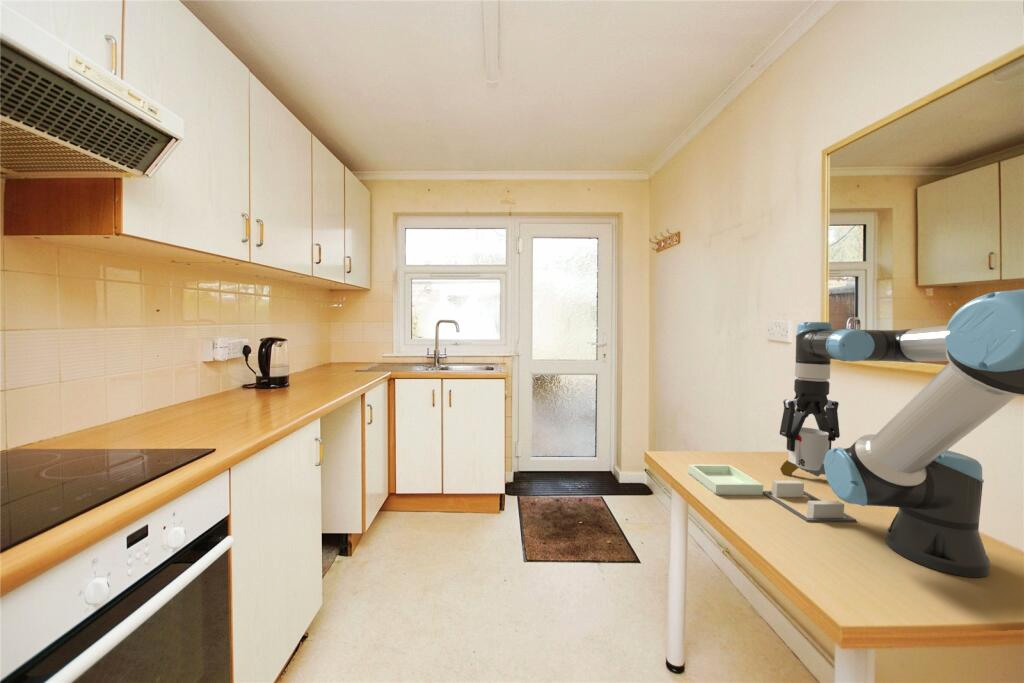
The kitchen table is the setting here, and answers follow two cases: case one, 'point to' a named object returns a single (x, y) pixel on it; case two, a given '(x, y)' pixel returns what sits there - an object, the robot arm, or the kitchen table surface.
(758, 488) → the tray
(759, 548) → the kitchen table surface
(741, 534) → the kitchen table surface
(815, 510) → the holder
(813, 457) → the cup
